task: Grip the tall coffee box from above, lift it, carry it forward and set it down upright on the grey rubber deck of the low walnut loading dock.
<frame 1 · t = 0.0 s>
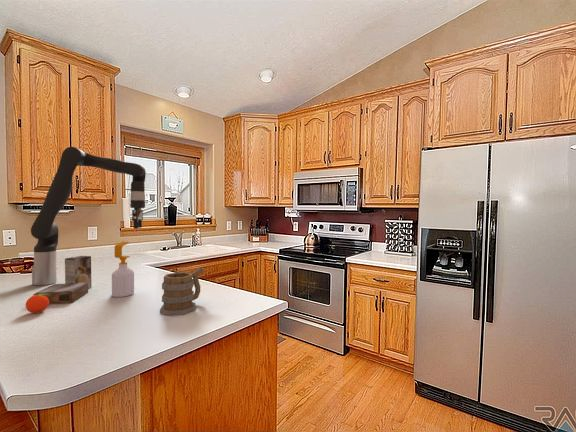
hand: (137, 228, 168), 29 cm above the countertop, tool pointing down, fingers open, 8 cm apart
dock: (62, 298, 130), on the countertop
soap bottle: (123, 294, 137), on the countertop
tankard: (185, 308, 120), on the countertop
clementine: (39, 312, 113), on the countertop
coffee box: (78, 289, 146), on the countertop
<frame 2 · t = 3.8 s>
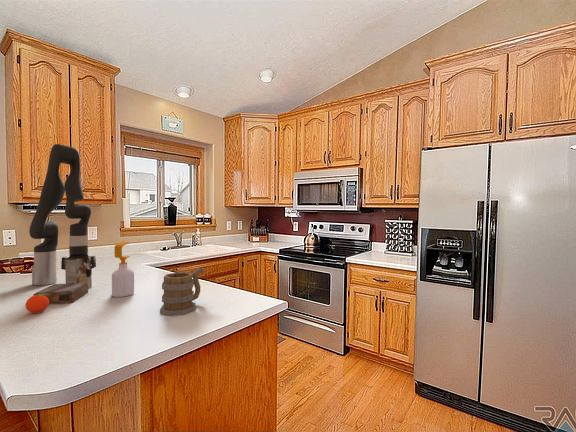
hand: (79, 277, 146), 6 cm above the countertop, tool pointing down, fingers open, 8 cm apart
nothing on the countertop moved.
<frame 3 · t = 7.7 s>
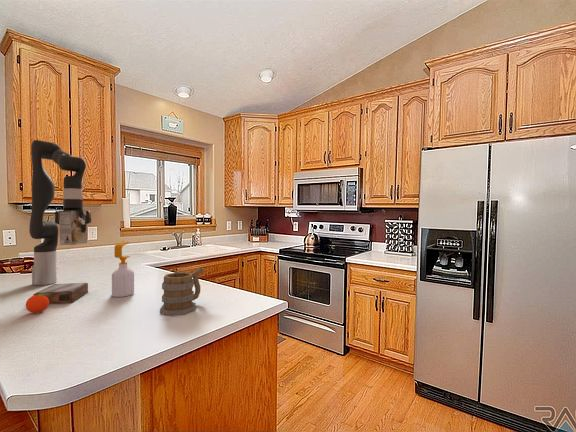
hand: (73, 232, 140), 29 cm above the countertop, tool pointing down, fingers closed on coffee box, 8 cm apart
coffee box: (73, 244, 140), point 23 cm above the countertop, touching gripper
everything else where it was.
when the fingers open (12 cm above the countertop, at t = 11.5 s): coffee box drops 1 cm, resting on dock.
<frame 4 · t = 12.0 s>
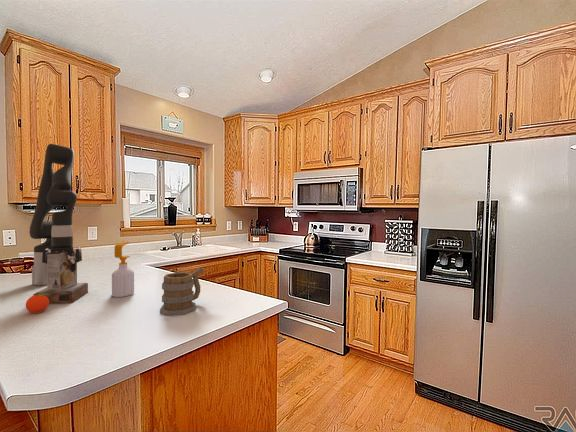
hand: (62, 272, 130), 12 cm above the countertop, tool pointing down, fingers open, 8 cm apart
coffee box: (62, 287, 130), point 5 cm above the countertop, touching dock
everything else where it was.
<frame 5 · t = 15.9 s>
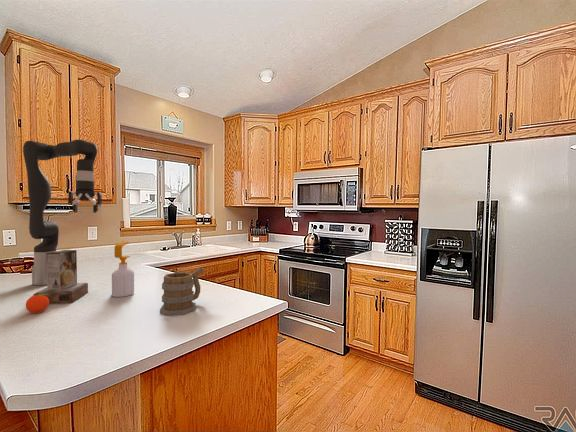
hand: (85, 212, 149), 38 cm above the countertop, tool pointing down, fingers open, 8 cm apart
nothing on the countertop moved.
at the end: coffee box inside the target area on the dock (0.1 cm from its centre), point 4.8 cm above the dock's base; coffee box tilted 0°; the gripper is holding nothing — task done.
